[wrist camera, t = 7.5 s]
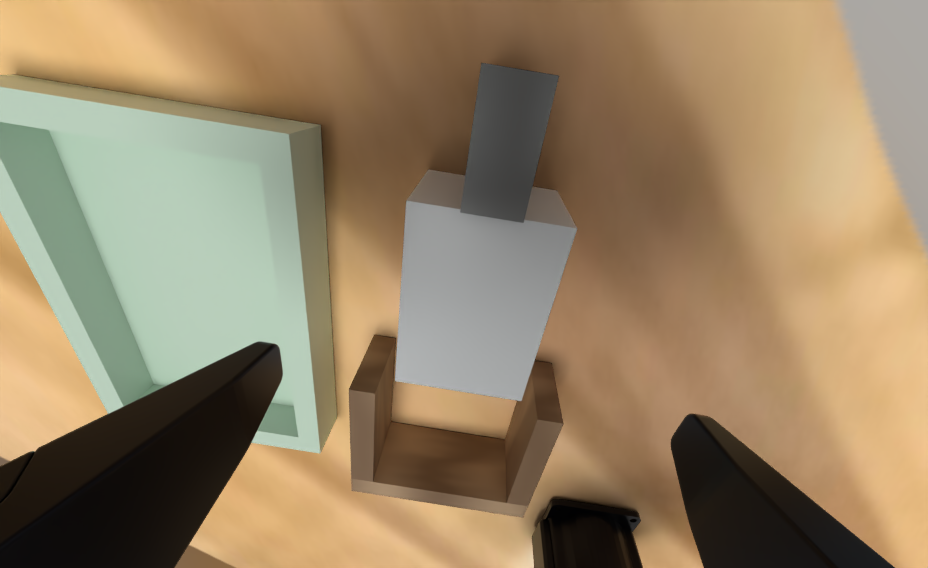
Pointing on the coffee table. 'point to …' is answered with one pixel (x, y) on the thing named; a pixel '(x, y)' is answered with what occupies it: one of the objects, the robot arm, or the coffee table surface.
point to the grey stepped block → (484, 249)
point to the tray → (174, 241)
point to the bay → (448, 445)
